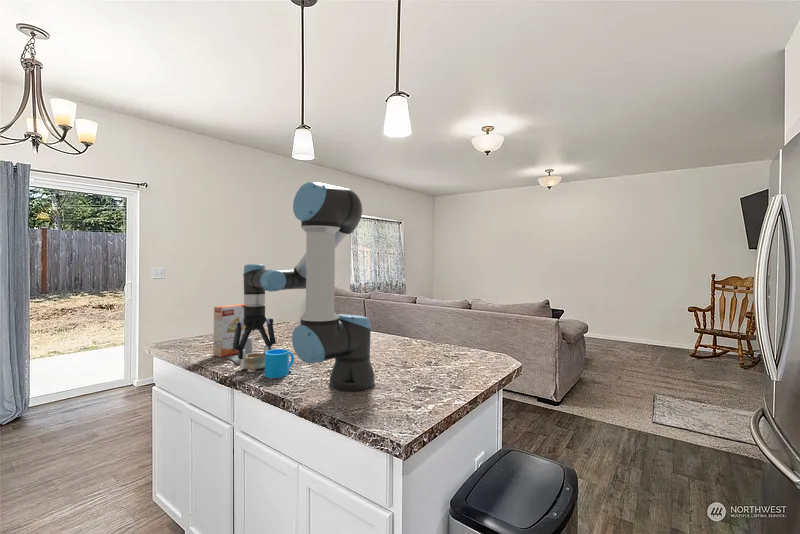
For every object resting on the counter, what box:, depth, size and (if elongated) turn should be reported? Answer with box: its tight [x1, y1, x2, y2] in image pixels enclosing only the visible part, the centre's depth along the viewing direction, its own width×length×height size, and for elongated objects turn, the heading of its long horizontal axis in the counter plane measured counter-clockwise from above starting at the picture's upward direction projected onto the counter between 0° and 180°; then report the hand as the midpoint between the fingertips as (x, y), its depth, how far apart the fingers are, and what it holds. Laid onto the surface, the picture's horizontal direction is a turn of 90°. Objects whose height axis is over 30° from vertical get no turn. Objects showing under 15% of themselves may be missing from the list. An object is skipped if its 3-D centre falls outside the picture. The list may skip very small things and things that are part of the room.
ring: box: [244, 352, 265, 370], centre depth 140 cm, size 8×8×4 cm
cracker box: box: [212, 303, 246, 358], centre depth 160 cm, size 14×6×21 cm, turn 153°
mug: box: [264, 348, 295, 379], centre depth 135 cm, size 12×8×8 cm
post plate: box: [227, 336, 259, 366], centre depth 153 cm, size 12×12×9 cm
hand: (254, 365), depth 140 cm, fingers closed on ring, 8 cm apart
